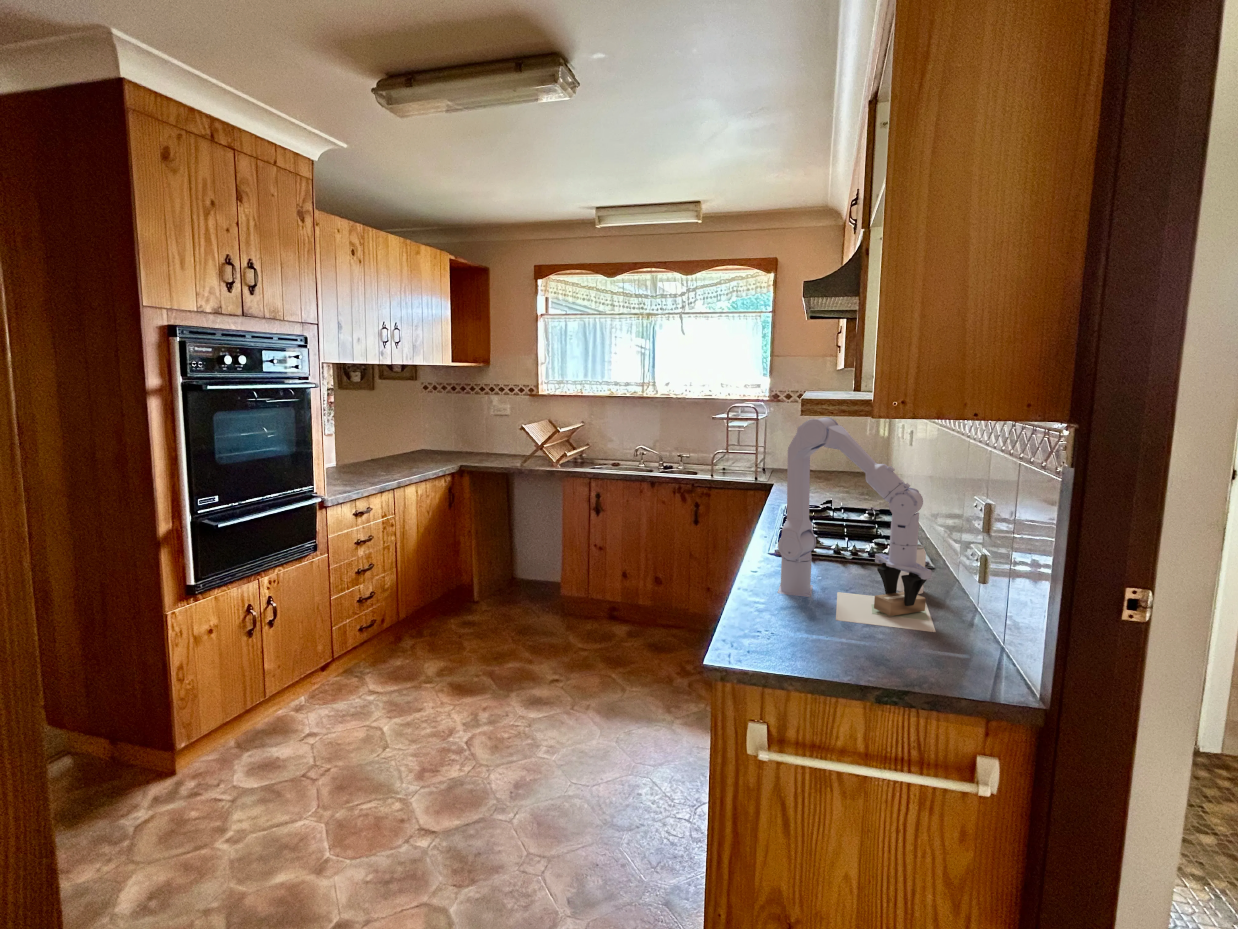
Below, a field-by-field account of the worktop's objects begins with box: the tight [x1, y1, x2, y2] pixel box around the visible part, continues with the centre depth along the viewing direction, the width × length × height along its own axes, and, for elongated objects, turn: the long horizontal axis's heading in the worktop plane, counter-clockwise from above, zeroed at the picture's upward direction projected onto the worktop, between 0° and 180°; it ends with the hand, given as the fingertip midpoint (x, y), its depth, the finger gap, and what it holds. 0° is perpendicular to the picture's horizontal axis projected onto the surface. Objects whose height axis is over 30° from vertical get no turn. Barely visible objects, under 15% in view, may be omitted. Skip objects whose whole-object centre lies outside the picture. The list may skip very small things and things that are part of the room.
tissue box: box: [874, 591, 927, 616], centre depth 150 cm, size 10×5×3 cm, turn 111°
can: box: [896, 543, 927, 595], centre depth 165 cm, size 6×6×12 cm
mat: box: [835, 591, 936, 633], centre depth 152 cm, size 20×20×1 cm
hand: (899, 601), depth 150 cm, fingers closed on tissue box, 5 cm apart
